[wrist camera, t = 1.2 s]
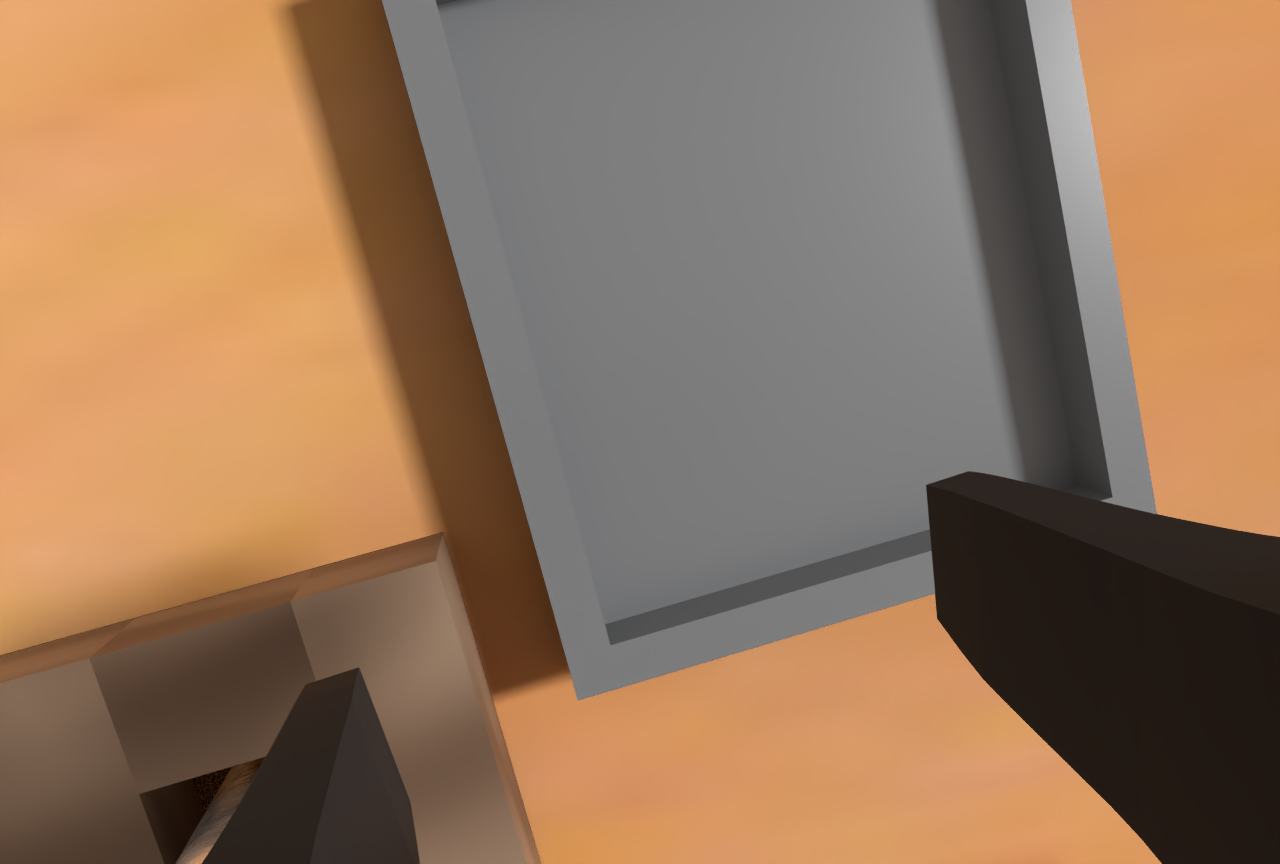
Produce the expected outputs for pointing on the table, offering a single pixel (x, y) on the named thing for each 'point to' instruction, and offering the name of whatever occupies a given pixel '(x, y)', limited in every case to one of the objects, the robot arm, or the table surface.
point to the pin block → (254, 712)
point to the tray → (770, 294)
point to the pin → (219, 812)
